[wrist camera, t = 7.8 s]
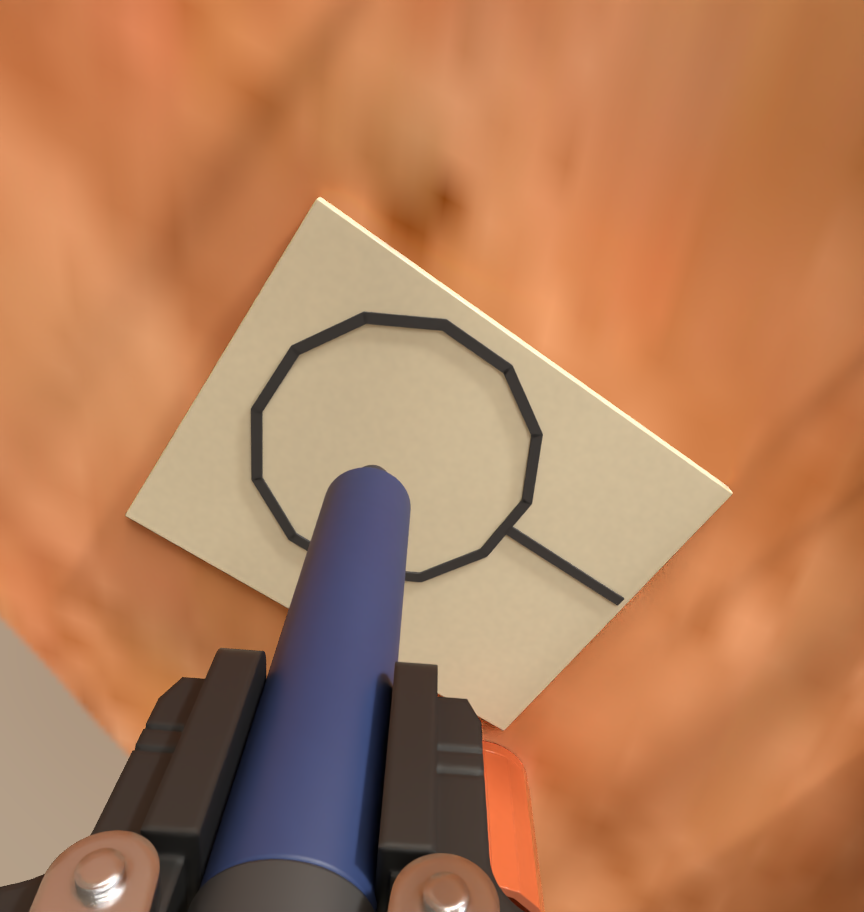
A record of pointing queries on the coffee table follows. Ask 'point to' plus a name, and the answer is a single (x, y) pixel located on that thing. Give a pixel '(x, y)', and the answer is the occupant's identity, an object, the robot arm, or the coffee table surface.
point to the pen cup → (511, 828)
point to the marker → (321, 720)
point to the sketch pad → (425, 465)
